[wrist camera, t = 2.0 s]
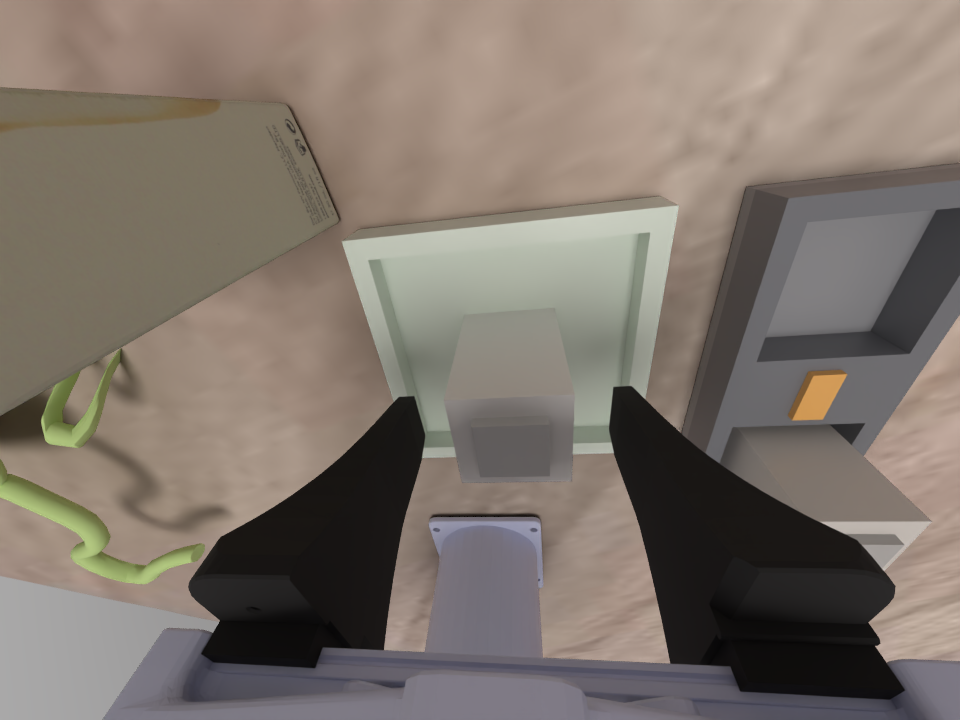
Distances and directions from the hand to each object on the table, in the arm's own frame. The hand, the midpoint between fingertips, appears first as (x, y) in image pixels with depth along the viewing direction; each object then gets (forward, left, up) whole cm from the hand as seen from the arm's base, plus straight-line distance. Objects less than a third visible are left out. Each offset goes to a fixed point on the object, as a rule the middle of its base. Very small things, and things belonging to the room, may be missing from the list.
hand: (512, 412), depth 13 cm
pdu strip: (-2, -12, -5) cm, 14 cm away
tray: (0, 0, -5) cm, 5 cm away
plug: (0, 0, -5) cm, 5 cm away
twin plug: (-7, -12, -5) cm, 15 cm away
